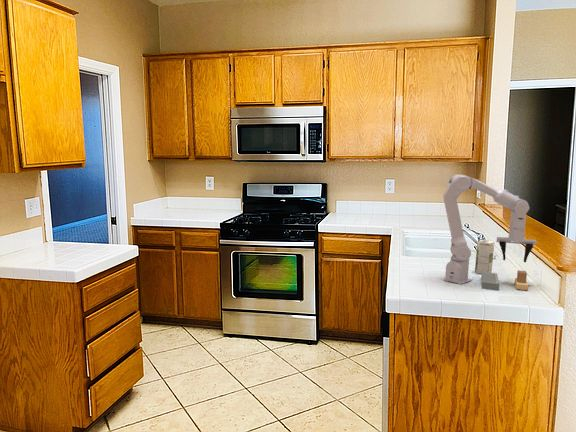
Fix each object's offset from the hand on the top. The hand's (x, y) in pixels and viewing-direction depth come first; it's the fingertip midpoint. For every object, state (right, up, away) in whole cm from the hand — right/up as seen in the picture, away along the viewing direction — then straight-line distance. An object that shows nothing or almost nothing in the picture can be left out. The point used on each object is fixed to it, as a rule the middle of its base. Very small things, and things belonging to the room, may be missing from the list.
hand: (514, 260), depth 192 cm
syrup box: (-6, -7, +17) cm, 20 cm away
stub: (0, -10, -5) cm, 11 cm away
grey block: (-10, -9, -1) cm, 14 cm away
